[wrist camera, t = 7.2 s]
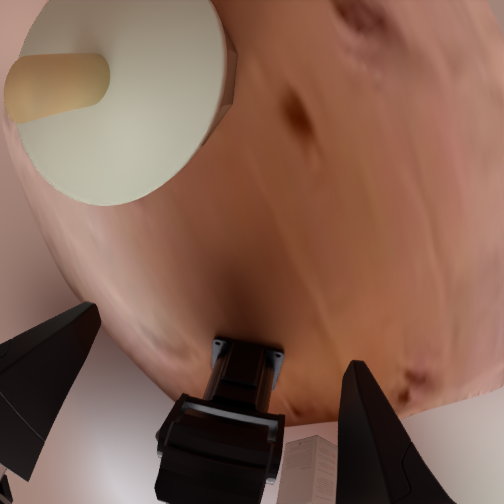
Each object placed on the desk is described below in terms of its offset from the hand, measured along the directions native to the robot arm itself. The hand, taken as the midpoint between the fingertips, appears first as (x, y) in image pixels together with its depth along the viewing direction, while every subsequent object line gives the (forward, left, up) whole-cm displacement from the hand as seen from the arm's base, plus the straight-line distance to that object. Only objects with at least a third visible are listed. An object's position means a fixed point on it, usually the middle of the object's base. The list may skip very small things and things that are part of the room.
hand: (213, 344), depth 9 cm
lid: (+8, +9, -8) cm, 14 cm away
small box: (-34, -12, -12) cm, 38 cm away
